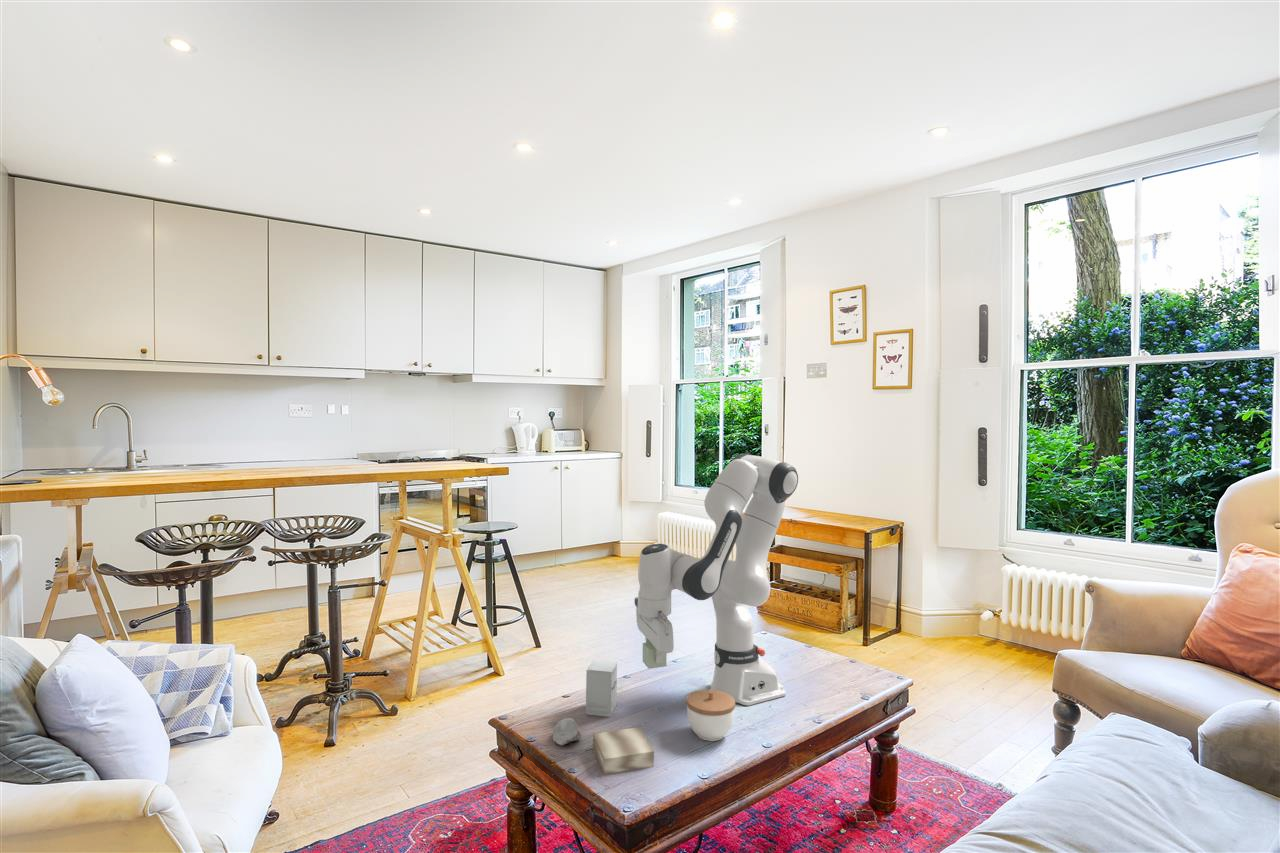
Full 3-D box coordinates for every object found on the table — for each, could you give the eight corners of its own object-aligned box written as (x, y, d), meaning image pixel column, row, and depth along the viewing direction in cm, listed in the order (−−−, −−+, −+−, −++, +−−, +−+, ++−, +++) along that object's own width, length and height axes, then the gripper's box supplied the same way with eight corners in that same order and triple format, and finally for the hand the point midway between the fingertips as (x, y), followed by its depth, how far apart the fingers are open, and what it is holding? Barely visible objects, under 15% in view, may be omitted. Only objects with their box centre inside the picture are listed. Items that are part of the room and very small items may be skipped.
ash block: (638, 742, 163) (638, 727, 163) (653, 767, 152) (653, 751, 152) (592, 749, 160) (593, 733, 160) (604, 776, 148) (604, 759, 148)
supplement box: (611, 717, 176) (611, 672, 175) (585, 714, 177) (585, 669, 177) (617, 705, 183) (617, 661, 183) (592, 703, 184) (592, 659, 184)
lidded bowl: (708, 717, 176) (709, 678, 176) (744, 735, 167) (745, 693, 166) (676, 732, 168) (676, 691, 168) (712, 752, 158) (712, 708, 158)
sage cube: (660, 659, 174) (660, 640, 174) (666, 666, 169) (666, 647, 169) (642, 661, 172) (642, 642, 172) (648, 668, 168) (648, 649, 167)
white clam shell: (589, 740, 164) (589, 721, 164) (565, 752, 158) (565, 732, 158) (567, 728, 170) (567, 710, 169) (543, 740, 164) (543, 721, 163)
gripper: (679, 617, 161) (679, 671, 162) (653, 594, 181) (653, 643, 181) (656, 619, 159) (656, 674, 160) (632, 596, 179) (632, 645, 179)
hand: (654, 657), depth 171 cm, fingers closed on sage cube, 5 cm apart
